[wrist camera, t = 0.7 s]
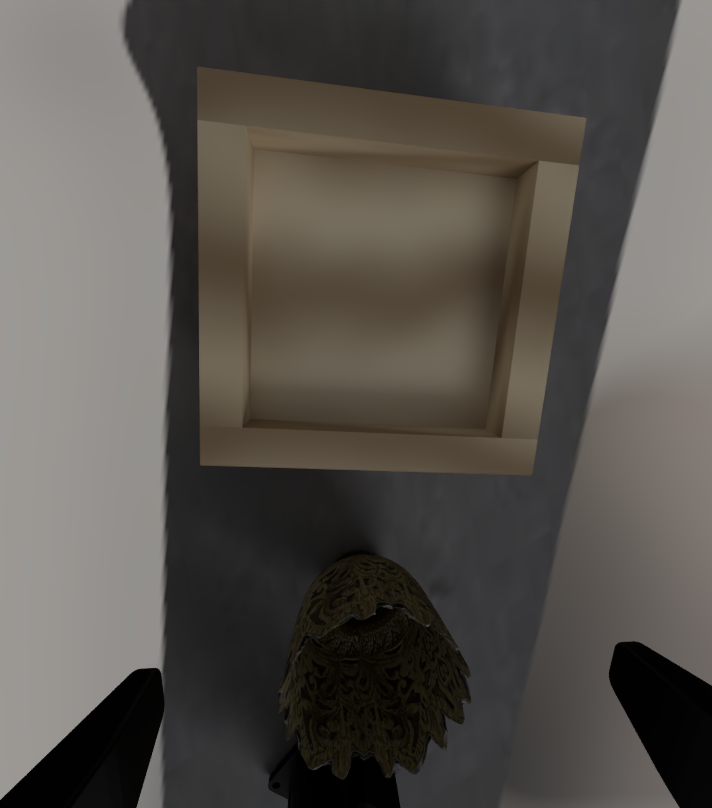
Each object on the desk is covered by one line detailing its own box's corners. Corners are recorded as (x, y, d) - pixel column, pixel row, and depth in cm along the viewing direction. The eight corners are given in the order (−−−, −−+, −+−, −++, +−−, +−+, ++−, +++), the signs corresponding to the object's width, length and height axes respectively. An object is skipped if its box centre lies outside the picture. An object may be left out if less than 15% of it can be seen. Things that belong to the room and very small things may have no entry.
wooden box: (472, 436, 21) (532, 475, 15) (236, 427, 20) (200, 465, 14) (503, 187, 19) (586, 118, 13) (239, 158, 17) (196, 66, 12)
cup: (283, 622, 22) (262, 780, 14) (304, 506, 21) (293, 608, 13) (405, 634, 23) (449, 789, 15) (431, 523, 22) (493, 629, 14)
